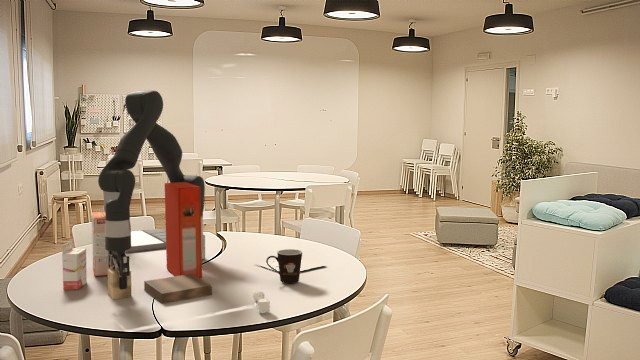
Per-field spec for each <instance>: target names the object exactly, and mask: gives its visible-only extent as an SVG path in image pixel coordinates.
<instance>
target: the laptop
mask: <svg viewBox="0 0 640 360" xmlns="http://www.w3.org/2000/svg"><path fill="white" fill-rule="evenodd" d="M102 192H103V212H105V205H106V203H107V202H108V201H110V200H115V199H118V197H119V195H120V192H105V191H103V190H102ZM162 249H166V230H164V229H162V228H155V229H142V230H131V248H130V249H129V250H126V251H125V254H128V253H136V252H145V251H154V250H162Z"/></svg>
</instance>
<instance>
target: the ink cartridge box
mask: <svg viewBox="0 0 640 360" xmlns="http://www.w3.org/2000/svg"><path fill="white" fill-rule="evenodd" d="M61 253H62V254H61V255H62V257H61V258H62V259H61V260H62V284H63V285H62V288H63V290H65V291H67V290H79V289H81V287H83V286H84V285H85V284H87V282H88V281H87V277H88V276H87V248H73V240H72V239H71V240H69V241H67V242H66V243H64V244H63V245H62V252H61Z"/></svg>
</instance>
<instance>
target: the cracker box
mask: <svg viewBox="0 0 640 360" xmlns="http://www.w3.org/2000/svg"><path fill="white" fill-rule="evenodd" d="M105 222H106V216H105V212H104V211H92V212H91V229H92V230H91V232H92V233H91V239H92V240H91V241H92V243H91V244H92V269H93V274H94V277H104V276H108V270H109V269H110V268H109V267H108V251H107V250H106V249H105Z"/></svg>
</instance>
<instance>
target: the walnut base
mask: <svg viewBox="0 0 640 360" xmlns="http://www.w3.org/2000/svg"><path fill="white" fill-rule="evenodd" d="M143 283H144V284H143V285H144V289H143V290H144V292H146V293H147V294H148V295H150V296H151V297H153V299H155V300H157V301H158V302H160V304H168V303H171V302H172V303H173V302H179V301H184V300H189V299H193V298H201V297H207V296H210V295H211V296H212V294H213V285H212V284H211V283H209V282H207V281H205V280H204V279H202V278H198V277H196V276H194V275H193V274H187V275H181V276H174V275H173V276H169V277H163V278H157V279H150V280H144V282H143Z"/></svg>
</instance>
